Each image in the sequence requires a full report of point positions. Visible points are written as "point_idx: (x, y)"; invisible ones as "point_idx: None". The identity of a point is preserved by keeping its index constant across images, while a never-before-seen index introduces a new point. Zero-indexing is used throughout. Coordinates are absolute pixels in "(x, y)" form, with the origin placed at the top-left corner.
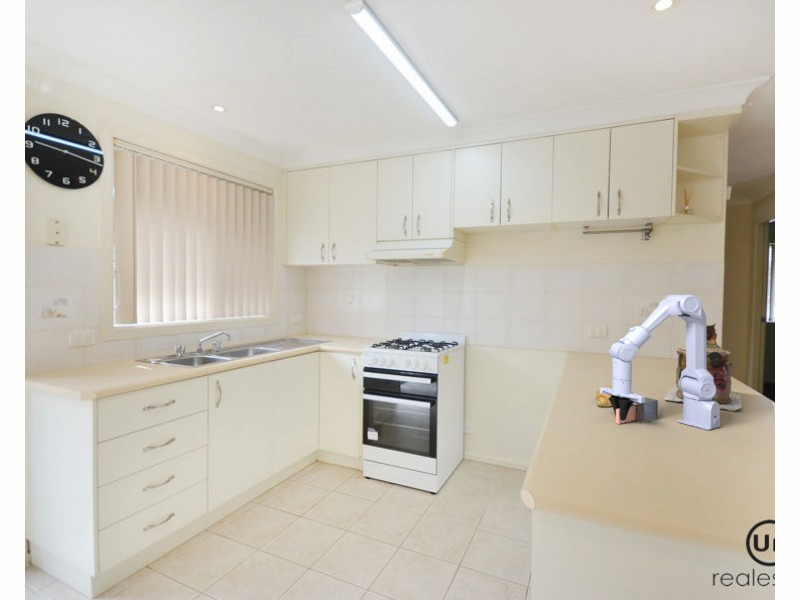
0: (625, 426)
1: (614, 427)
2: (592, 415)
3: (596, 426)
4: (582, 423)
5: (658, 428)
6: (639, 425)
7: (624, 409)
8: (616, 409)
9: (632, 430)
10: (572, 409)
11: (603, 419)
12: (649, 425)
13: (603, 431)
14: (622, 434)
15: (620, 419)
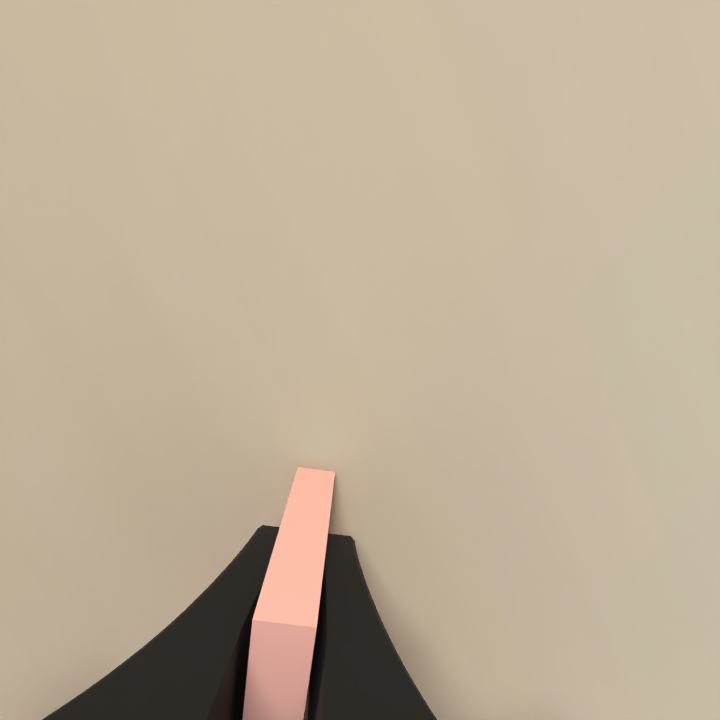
0: (224, 471)
1: (278, 326)
2: (662, 556)
3: (443, 157)
4: (639, 114)
5: (11, 668)
6: (161, 618)
7: (140, 666)
8: (309, 621)
9: (99, 395)
10: None
11: (508, 516)
12: None
13: (274, 7)
14: (63, 121)
15: None
